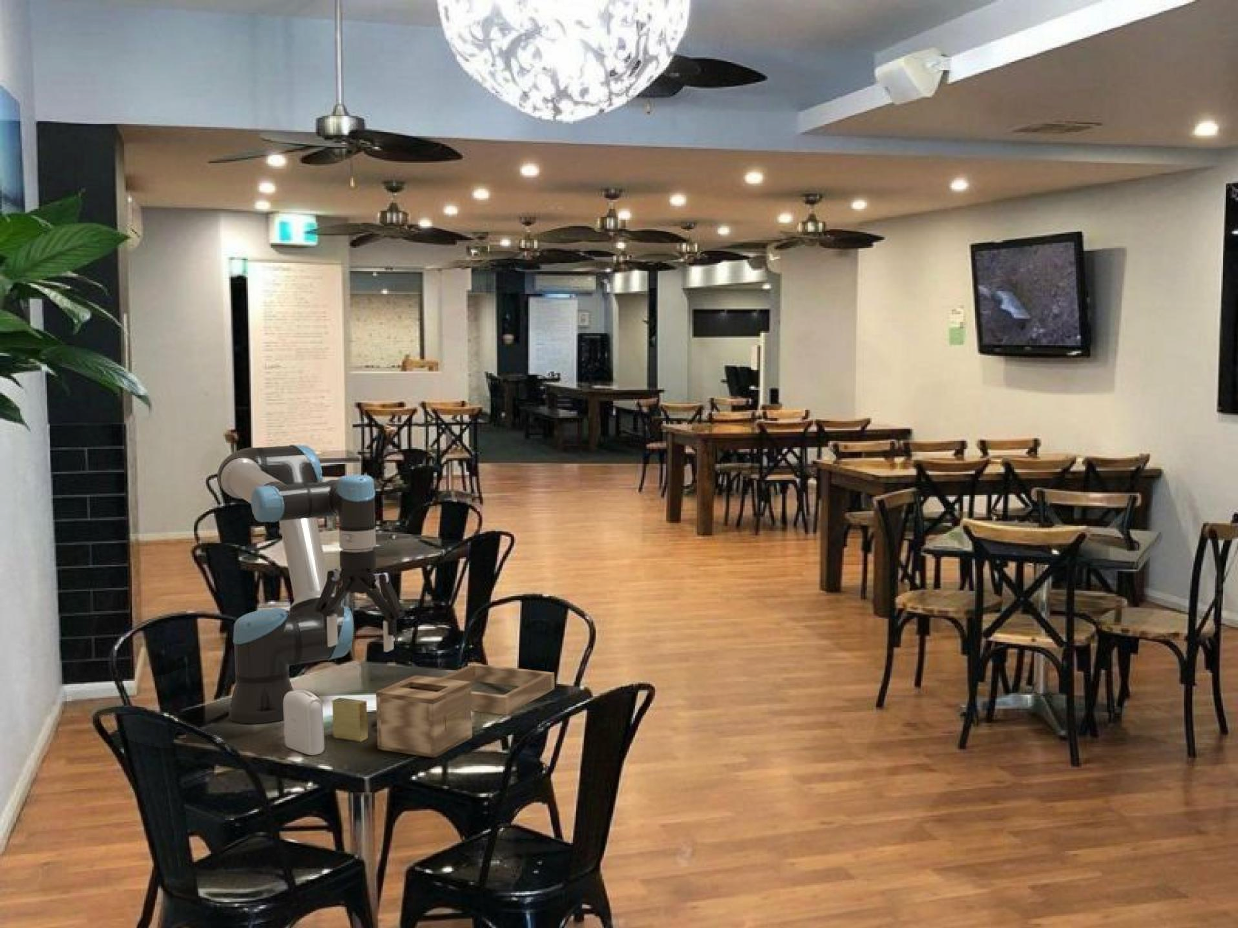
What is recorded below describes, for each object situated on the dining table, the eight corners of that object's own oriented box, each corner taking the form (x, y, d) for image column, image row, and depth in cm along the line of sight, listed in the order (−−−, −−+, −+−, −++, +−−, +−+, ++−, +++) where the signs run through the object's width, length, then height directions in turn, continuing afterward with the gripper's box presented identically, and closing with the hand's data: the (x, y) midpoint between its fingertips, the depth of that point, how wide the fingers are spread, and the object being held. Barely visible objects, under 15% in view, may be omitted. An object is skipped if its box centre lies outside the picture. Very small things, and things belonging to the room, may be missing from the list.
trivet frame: (420, 703, 277) (419, 686, 277) (473, 679, 298) (472, 663, 298) (505, 714, 268) (505, 697, 267) (554, 688, 288) (554, 672, 288)
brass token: (333, 737, 254) (332, 700, 253) (341, 733, 256) (339, 697, 255) (360, 741, 251) (359, 704, 250) (367, 737, 253) (366, 701, 252)
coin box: (377, 748, 245) (375, 691, 244) (417, 729, 258) (415, 675, 257) (435, 757, 239) (433, 699, 238) (473, 737, 252) (471, 681, 251)
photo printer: (281, 746, 248) (279, 688, 247) (300, 741, 251) (297, 684, 250) (309, 757, 241) (307, 697, 240) (327, 752, 244) (325, 693, 243)
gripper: (296, 548, 251) (299, 647, 254) (401, 555, 243) (403, 656, 245) (316, 543, 258) (319, 639, 261) (419, 549, 250) (421, 647, 252)
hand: (360, 647), depth 253 cm, fingers open, 13 cm apart
